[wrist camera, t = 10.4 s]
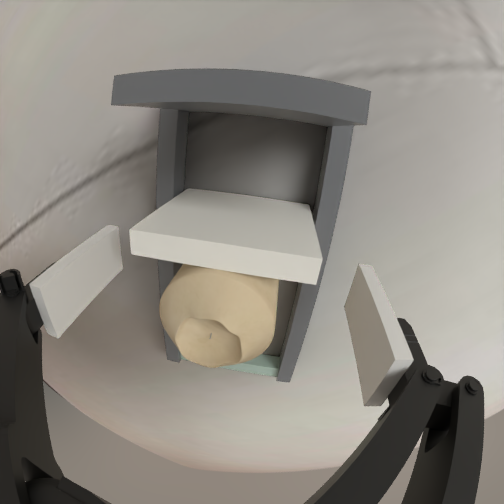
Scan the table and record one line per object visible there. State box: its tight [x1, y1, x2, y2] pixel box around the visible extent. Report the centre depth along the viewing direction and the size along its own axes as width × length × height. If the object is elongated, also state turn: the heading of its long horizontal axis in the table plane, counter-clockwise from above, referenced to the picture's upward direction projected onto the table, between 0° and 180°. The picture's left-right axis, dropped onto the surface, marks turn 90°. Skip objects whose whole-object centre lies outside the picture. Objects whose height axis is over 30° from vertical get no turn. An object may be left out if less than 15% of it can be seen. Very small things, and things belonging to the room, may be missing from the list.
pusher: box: [129, 188, 323, 285], centre depth 15 cm, size 1×8×8 cm, turn 83°
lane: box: [111, 69, 371, 382], centre depth 16 cm, size 22×11×9 cm, turn 174°
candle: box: [159, 264, 279, 368], centre depth 16 cm, size 6×6×10 cm
